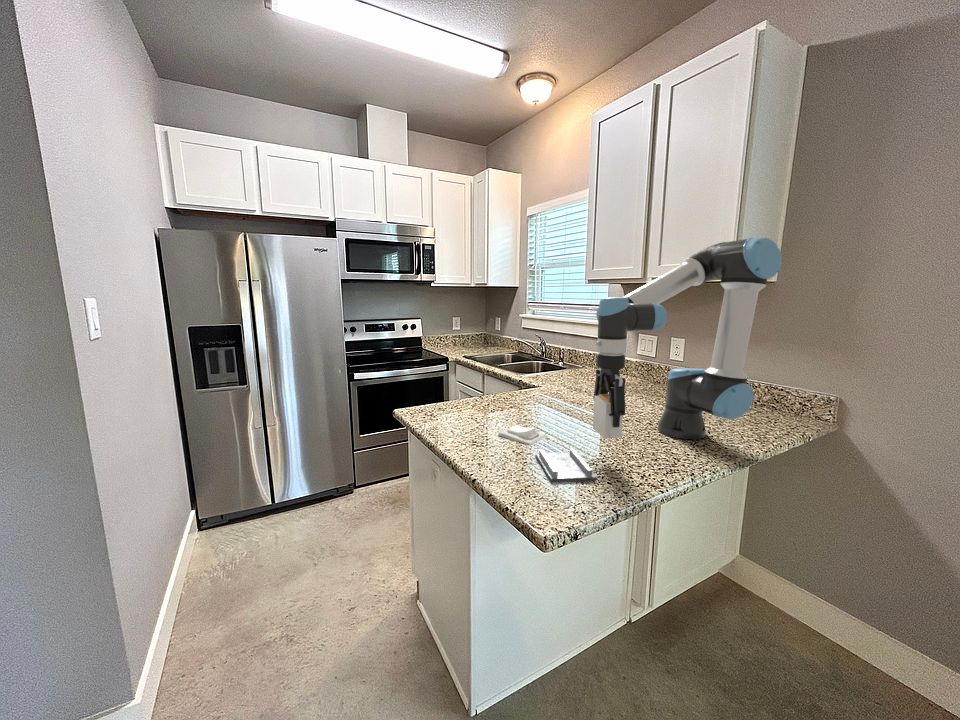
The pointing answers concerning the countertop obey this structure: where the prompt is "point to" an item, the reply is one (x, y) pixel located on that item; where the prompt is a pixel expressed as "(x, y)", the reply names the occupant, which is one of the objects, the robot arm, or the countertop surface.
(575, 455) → the rail
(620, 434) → the block
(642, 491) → the countertop surface
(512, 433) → the light switch
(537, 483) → the countertop surface
